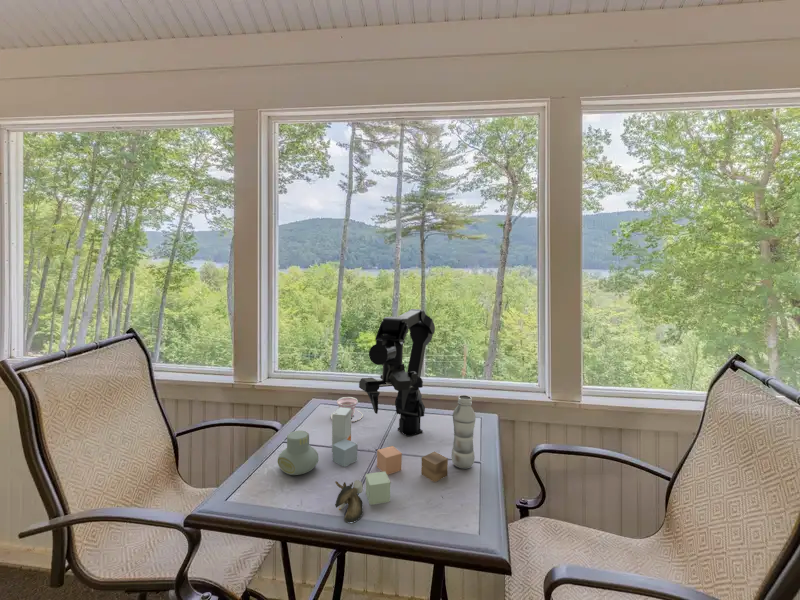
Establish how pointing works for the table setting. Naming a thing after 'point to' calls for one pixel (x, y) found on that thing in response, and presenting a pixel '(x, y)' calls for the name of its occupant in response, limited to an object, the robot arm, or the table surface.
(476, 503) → the table surface
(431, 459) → the walnut cube
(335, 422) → the skincare box
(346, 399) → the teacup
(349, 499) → the deer head figurine
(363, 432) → the table surface
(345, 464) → the slate cube
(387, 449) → the terracotta cube
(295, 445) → the air freshener
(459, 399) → the plastic bottle
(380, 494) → the sage cube
